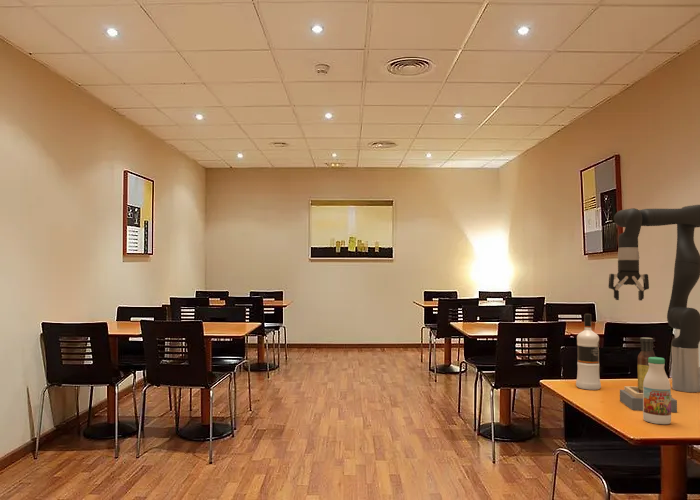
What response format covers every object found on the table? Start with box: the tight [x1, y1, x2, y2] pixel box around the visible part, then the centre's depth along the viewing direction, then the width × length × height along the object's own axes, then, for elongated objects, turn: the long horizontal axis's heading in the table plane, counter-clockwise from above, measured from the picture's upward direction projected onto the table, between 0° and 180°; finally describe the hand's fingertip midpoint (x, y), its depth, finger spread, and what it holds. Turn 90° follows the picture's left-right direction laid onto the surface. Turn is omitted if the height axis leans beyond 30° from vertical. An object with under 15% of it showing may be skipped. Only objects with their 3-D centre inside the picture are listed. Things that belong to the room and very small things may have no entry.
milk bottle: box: [642, 356, 672, 425], centre depth 173 cm, size 8×8×20 cm
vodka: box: [575, 313, 602, 391], centre depth 223 cm, size 9×9×30 cm
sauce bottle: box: [636, 337, 656, 393], centre depth 193 cm, size 6×6×20 cm
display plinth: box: [619, 385, 678, 413], centre depth 193 cm, size 14×14×6 cm
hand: (628, 300), depth 216 cm, fingers open, 8 cm apart
